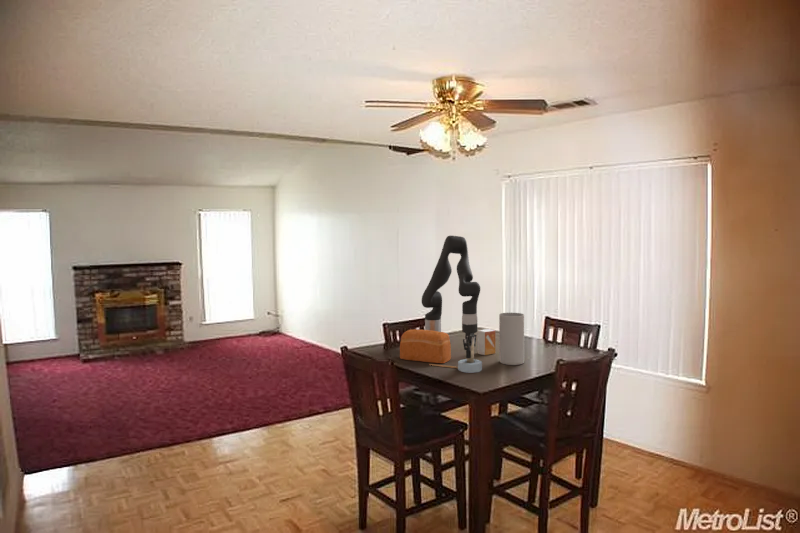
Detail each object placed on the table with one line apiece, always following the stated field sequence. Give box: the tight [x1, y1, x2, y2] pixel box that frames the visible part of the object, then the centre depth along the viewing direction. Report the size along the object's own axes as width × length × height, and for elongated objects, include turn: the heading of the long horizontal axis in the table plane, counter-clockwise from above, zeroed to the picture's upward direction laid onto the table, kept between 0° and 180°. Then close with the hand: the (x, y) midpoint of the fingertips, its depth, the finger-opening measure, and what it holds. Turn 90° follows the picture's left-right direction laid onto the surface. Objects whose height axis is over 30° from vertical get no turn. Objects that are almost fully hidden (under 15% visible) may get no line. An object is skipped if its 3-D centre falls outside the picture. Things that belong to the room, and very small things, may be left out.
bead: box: [457, 358, 483, 374], centre depth 270 cm, size 11×11×4 cm
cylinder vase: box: [498, 312, 525, 366], centre depth 282 cm, size 12×12×25 cm
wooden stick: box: [428, 363, 458, 369], centre depth 276 cm, size 17×1×1 cm, turn 63°
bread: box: [399, 328, 452, 364], centre depth 292 cm, size 14×26×16 cm, turn 62°
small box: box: [476, 328, 496, 356], centre depth 303 cm, size 8×6×13 cm
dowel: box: [466, 338, 475, 363], centre depth 269 cm, size 4×4×12 cm
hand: (470, 356), depth 269 cm, fingers closed on dowel, 3 cm apart
